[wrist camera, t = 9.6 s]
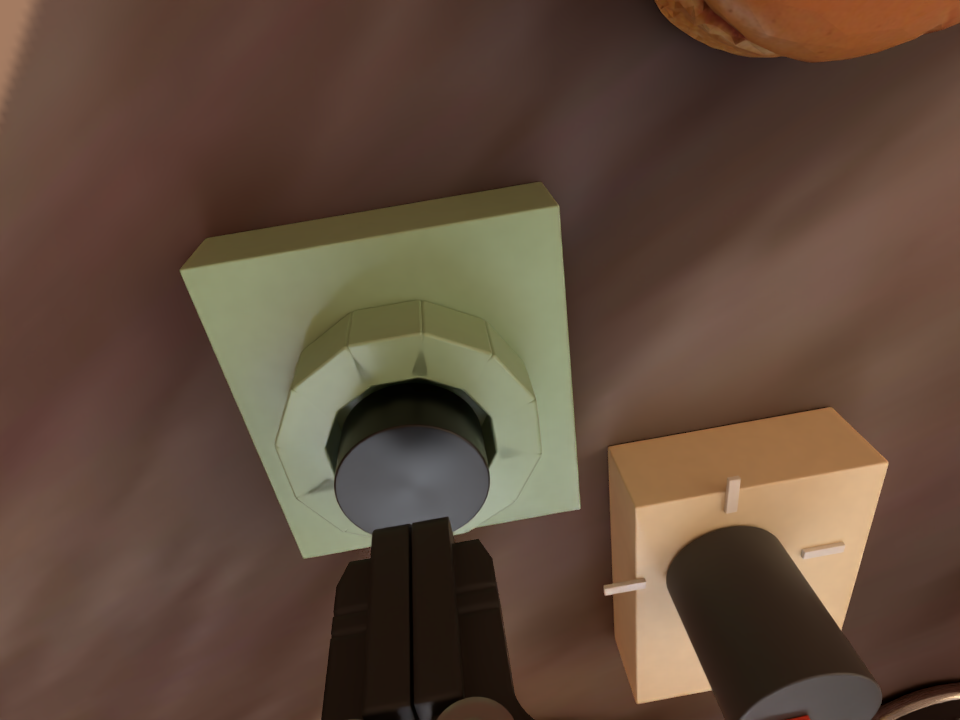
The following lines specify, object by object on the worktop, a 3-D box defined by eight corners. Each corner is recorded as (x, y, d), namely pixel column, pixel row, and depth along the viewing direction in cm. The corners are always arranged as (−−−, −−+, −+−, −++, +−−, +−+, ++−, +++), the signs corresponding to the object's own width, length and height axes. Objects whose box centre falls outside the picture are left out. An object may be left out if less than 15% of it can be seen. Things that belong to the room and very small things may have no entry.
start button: (490, 480, 16) (498, 528, 15) (359, 503, 16) (355, 554, 15) (471, 369, 15) (479, 412, 13) (323, 395, 15) (314, 441, 13)
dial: (786, 513, 19) (903, 671, 15) (778, 592, 21) (879, 752, 17) (662, 540, 19) (741, 706, 15) (667, 617, 21) (738, 783, 17)
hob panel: (790, 604, 27) (833, 672, 24) (589, 642, 27) (610, 714, 24) (834, 392, 21) (897, 450, 18) (575, 438, 21) (600, 503, 18)
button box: (565, 464, 21) (596, 553, 18) (312, 509, 21) (294, 608, 18) (541, 181, 16) (578, 230, 13) (204, 237, 16) (150, 303, 13)
